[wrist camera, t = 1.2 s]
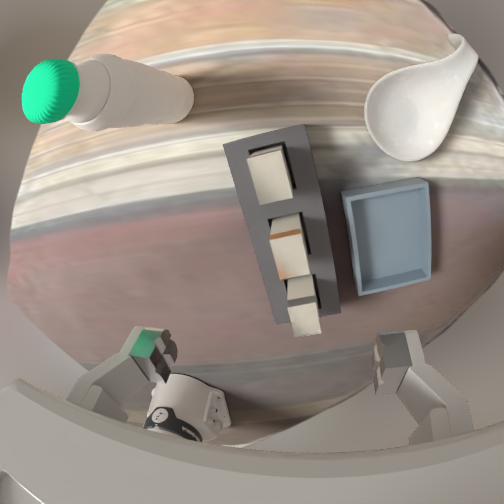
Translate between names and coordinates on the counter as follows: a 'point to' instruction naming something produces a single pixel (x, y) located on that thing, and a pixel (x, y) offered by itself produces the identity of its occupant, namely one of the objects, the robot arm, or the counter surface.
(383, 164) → the counter surface
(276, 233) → the orange cap fuse
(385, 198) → the tray
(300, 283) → the block
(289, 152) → the fuse strip
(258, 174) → the block
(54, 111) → the water bottle
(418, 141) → the spoon rest
